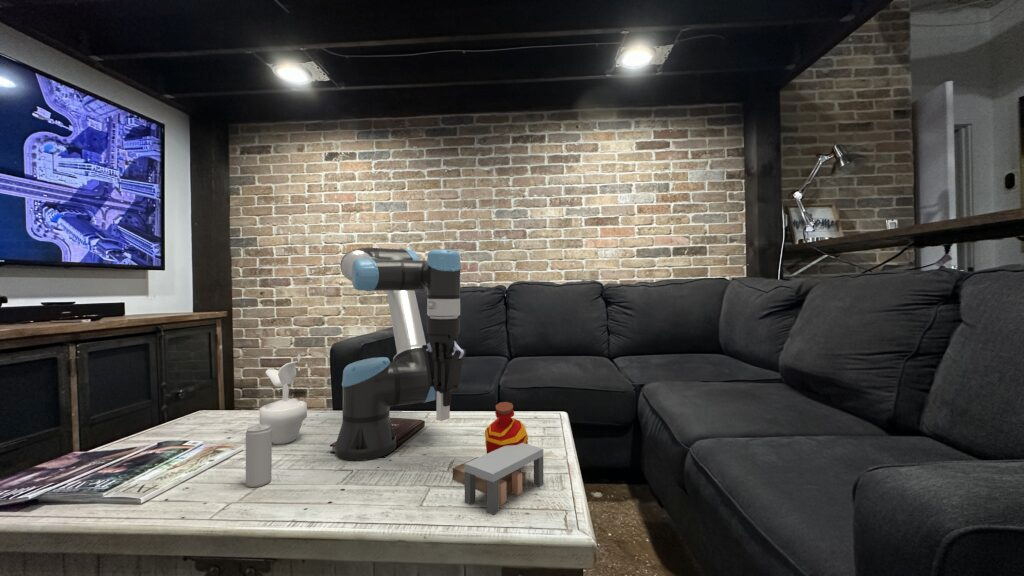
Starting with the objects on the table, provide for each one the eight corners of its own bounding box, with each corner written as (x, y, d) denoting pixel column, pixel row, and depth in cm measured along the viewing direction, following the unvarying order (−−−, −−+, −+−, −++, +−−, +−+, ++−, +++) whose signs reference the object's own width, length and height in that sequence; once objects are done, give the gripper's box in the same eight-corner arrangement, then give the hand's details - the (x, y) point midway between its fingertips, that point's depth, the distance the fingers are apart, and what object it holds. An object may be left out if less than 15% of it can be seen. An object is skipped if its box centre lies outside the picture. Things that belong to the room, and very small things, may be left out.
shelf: (464, 502, 81) (464, 463, 81) (516, 474, 93) (516, 440, 94) (493, 515, 76) (492, 474, 76) (543, 484, 89) (543, 448, 89)
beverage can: (244, 490, 87) (244, 432, 87) (246, 481, 91) (246, 426, 91) (271, 485, 89) (271, 428, 89) (272, 476, 93) (272, 422, 93)
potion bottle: (525, 482, 91) (521, 421, 87) (480, 476, 93) (475, 416, 90) (534, 452, 101) (531, 396, 97) (493, 447, 103) (489, 393, 100)
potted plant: (315, 438, 118) (315, 349, 118) (273, 451, 108) (273, 355, 108) (290, 430, 124) (290, 347, 125) (249, 442, 115) (249, 351, 115)
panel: (452, 481, 91) (452, 468, 91) (478, 469, 97) (478, 456, 97) (500, 501, 82) (500, 486, 82) (525, 487, 88) (525, 472, 88)
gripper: (412, 316, 97) (412, 416, 97) (450, 319, 89) (449, 429, 89) (437, 314, 103) (437, 409, 103) (475, 317, 95) (474, 421, 95)
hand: (443, 418), depth 96 cm, fingers closed
